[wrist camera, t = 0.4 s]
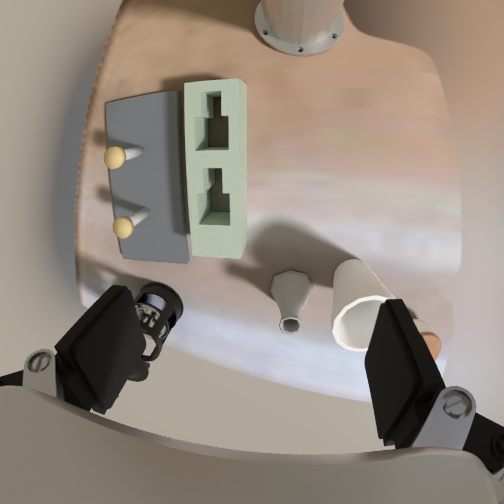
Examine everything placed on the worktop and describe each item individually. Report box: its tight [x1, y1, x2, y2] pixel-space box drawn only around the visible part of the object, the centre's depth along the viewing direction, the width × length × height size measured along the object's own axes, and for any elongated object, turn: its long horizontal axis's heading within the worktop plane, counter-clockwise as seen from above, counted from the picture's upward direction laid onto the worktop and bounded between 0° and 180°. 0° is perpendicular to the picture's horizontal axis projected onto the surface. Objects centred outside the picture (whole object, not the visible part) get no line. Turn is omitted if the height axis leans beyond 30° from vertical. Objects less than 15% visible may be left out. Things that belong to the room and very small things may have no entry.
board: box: [104, 90, 189, 264], centre depth 38 cm, size 28×13×9 cm, turn 0°
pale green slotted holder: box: [184, 79, 247, 259], centre depth 37 cm, size 24×7×6 cm, turn 0°
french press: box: [117, 282, 183, 397], centre depth 42 cm, size 12×9×23 cm
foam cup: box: [331, 259, 395, 352], centre depth 38 cm, size 10×9×13 cm
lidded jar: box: [413, 319, 441, 361], centre depth 44 cm, size 11×11×9 cm
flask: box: [270, 270, 313, 334], centre depth 42 cm, size 7×7×10 cm
